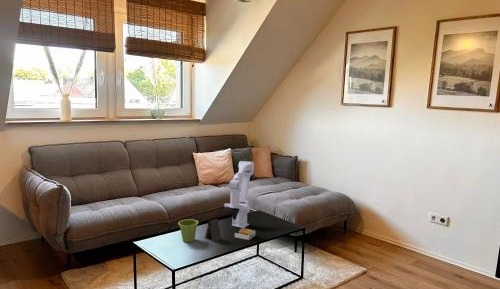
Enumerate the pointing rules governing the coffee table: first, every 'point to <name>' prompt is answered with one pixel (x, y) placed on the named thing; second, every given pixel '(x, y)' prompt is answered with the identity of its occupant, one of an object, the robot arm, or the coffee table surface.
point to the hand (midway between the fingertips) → (234, 219)
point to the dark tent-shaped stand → (213, 231)
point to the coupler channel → (245, 235)
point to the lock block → (245, 231)
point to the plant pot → (188, 229)
